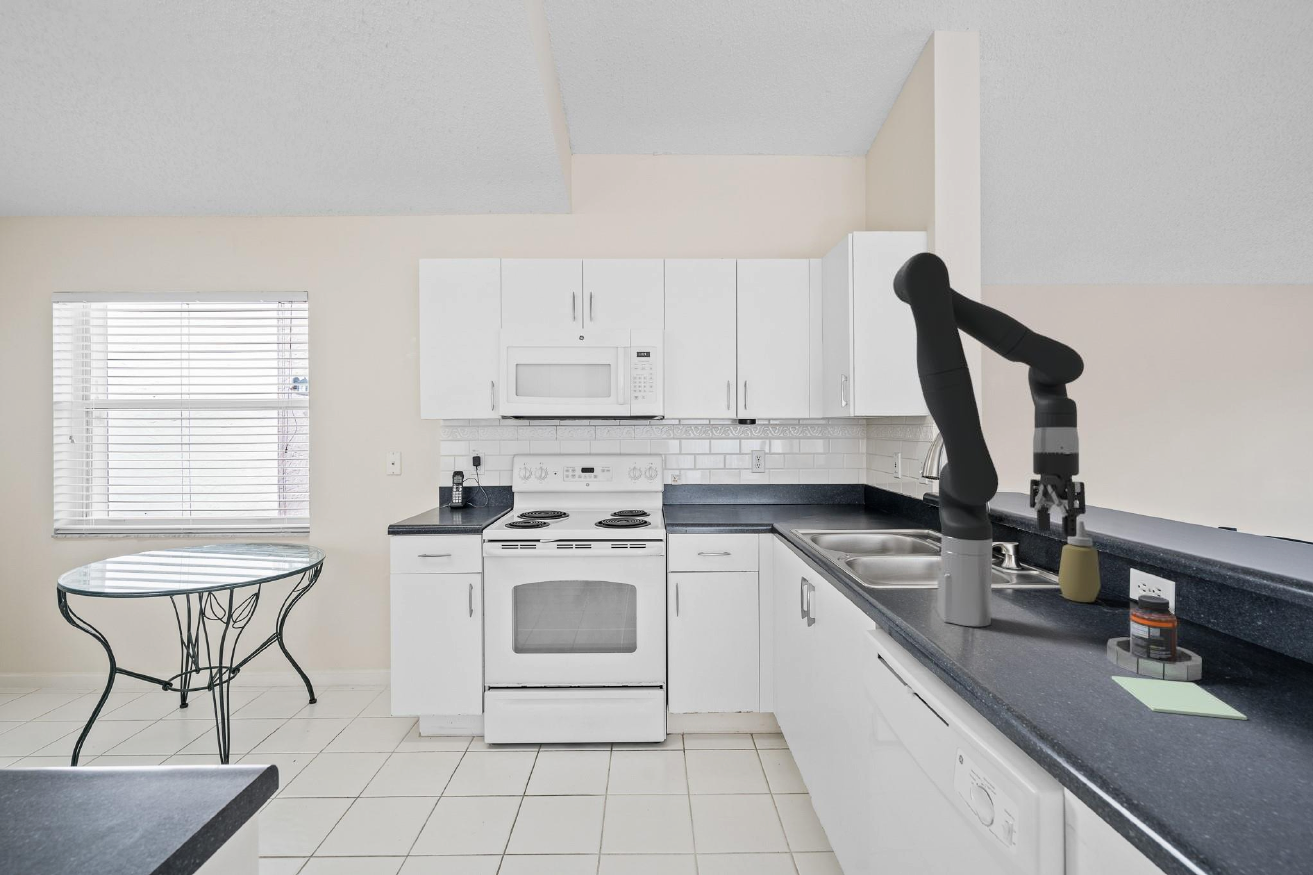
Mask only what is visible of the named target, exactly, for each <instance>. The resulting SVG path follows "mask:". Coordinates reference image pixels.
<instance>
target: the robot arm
mask: <svg viewBox="0 0 1313 875" xmlns="http://www.w3.org/2000/svg"><path fill="white" fill-rule="evenodd" d="M949 273H950V272H949V270H948V266H947V265H946V263H945V261H944V260H943V259H942V258H941V257H940V256H938V255H936V254H934V253H932V252H919V253H917V254H915V255H914V254H913V256H911V257H909V259H907V260H906V261H905V262H904V263H903V265H902V266H901V267H900V268H899V269H898V271H897V272H896V274H895V275H894V278H893V282H892V287H893V292H894V294H895V295H896V297H897V298H898V299H899V301H901V302H903V303H904V304H907V305H908V306H910V309H911V313H912V316H913V321H914V324H915V330H916V367H917V374H918V375H917V376H918V378H919V379H918V380H919V383H920V389H921V391H922V396H923V399H924V402H925V405H926V407H927V409H928V412H929V414H930V416H931V417H932V419H933V422H934V423H935V425H936V427H937V429H938V431H939V434H940V435H941V438H942V441H943V445H944V448H945V454H946V460H947V462H946V463H945V464H944V465H943V467H942V468H941V471H940V473H939V478H938V514H939V520H940V525H941V548H940V549H941V550H940V552H941V556H940V560H941V561H940V568H938V570H937V614H938V616H939V617H940V618H941V620H942V621H943V622H944V623H951V624H955V625H960V626H965V627H966V626H967V627H977V628H978V627H987V626H989V625H991V624H992V623H991V621H992V620H991V619H992V578H993V577H992V570H993V568H992V565H993V525H992V523H991V521H990V519H989V515H988V514H989V513H988V506H987V503H989V502H991V500H992V499H993V498H994V497H995V495H996V494H997V492H998V488H999V477H998V473H997V470H996V466H995V464H994V461H993V458H992V457H991V454H990V451H989V448H988V446H987V445H988V444H987V443H986V439H985V437H984V433H983V430H982V426H981V425H982V424H981V419H980V415H979V409H978V405H977V400H976V396H975V391H974V386H973V380H972V376H971V373H970V369H969V368H970V367H969V364H968V360H967V358H966V354H965V351H964V346H963V342H962V339H961V335H960V332H959V330H960V331H962V332H963V333H965V334H966V335H968V336H969V337H972V338H973V339H974V340H976V341H977V342H979V343H980V344H982V345H984V346H985V347H987V348H988V349H990V351H993V352H994V353H996V354H997V355H999V356H1001V357H1002V358H1004V359H1005V360H1007V361H1009V362H1012V363H1022V364H1025V366H1026V365H1027V366H1028V373H1027V376H1028V377H1027V379H1028V385H1029V390H1030V395H1031V399H1032V402H1033V406H1034V418H1033V419H1034V430H1033V431H1034V432H1033V438H1032V441H1033V442H1032V459H1033V460H1032V466H1033V467H1032V470H1033V471H1032V472H1033V474H1034V475H1037V476H1038V475H1040V476H1039V477H1040V478H1039V479H1035V478H1034V479H1030V480H1029V481H1030V484H1029V485H1030V486H1029V508H1031V509H1034V511H1035V513H1036V529H1037V531H1040V532H1050V531H1051V509H1052V507H1053V506H1054V505H1055V506H1056V507H1058V508H1059V510H1060V511H1061V512H1060V513H1061V514H1062V516H1061V534H1062V536H1063V537H1067V538H1068V537H1075V536H1076V535H1077V521H1078V520H1077V517H1079V516H1080V515H1085V513H1086V511H1087V510H1086V492H1085V491H1086V490H1085V487H1086V486H1085V483H1084V482H1083V481H1073V476H1078V475H1080V437H1079V432H1078V410H1077V409H1078V408H1077V403H1076V401H1075V400H1074V399H1072V398H1069V397H1068V392H1067V384H1070V383H1071V384H1072V383H1073V382H1074V381H1076V380H1078V379H1079V378H1080V377H1081V376H1082V374H1083V373H1084V369H1085V364H1084V363H1085V362H1084V360H1083V358H1082V357H1081V355H1080V354H1079V353H1078V352H1077V351H1076V350H1075V349H1074V348H1072V347H1070V346H1069V345H1067V344H1065V343H1062V342H1060V341H1058V340H1055V339H1053V338H1051V337H1049V336H1046V335H1043V334H1041V333H1037V332H1036V331H1033V330H1032V329H1031V328H1030V327H1028V326H1027V325H1024V324H1023V323H1021V322H1020V321H1019V320H1017V319H1015V318H1014V317H1012V316H1010V315H1008V314H1007V313H1005V312H1003V311H1001V310H998V309H996V308H994V307H991V306H989V305H986V304H983V303H981V302H978V301H975V300H974V299H971V298H969V297H966V296H965V295H963V294H961V293H960V292H958V291H956V290H955V289H953V287H951V282H950V274H949ZM1077 504H1078V507H1077Z"/></svg>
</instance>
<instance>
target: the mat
mask: <svg viewBox="0 0 1313 875" xmlns="http://www.w3.org/2000/svg"><path fill="white" fill-rule="evenodd" d="M1111 679H1112V680H1113V681H1114V682H1116V684H1118V685H1119V686H1121V687H1122V688H1123V689H1125V691H1127V692H1129V693H1130V694H1131V695H1132V696H1133V697H1135V698H1136V699H1137V700H1138V701H1140V702H1141V703H1142V704H1144V705H1145V706H1146V707H1148V708H1149V709H1150V710H1152V711H1153V712H1160V713H1167V714H1168V713H1169V714H1178V715H1179V714H1181V715H1188V716H1189V715H1190V716H1201V717H1212V718H1221V719H1231V720H1232V719H1233V720H1243V721H1247V720H1248V717H1247V716H1246V715H1245V714H1243V713H1241V712H1239V711H1238V710H1236V709H1235V708H1233V707H1232V706H1231V705H1229V704H1227V703H1225V702H1224V701H1222V700H1220V699H1219V698H1217V697H1216V696H1215V695H1213V694H1212V693H1209V692H1208V691H1206V690H1205V689H1204V688H1202V687H1200V686H1198V685H1197V684H1196V683H1195V682H1190V681H1177V680H1165V679H1154V678H1152V679H1151V678H1141V677H1140V678H1138V677H1129V676H1118V675H1112V676H1111Z"/></svg>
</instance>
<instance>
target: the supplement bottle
mask: <svg viewBox="0 0 1313 875" xmlns="http://www.w3.org/2000/svg"><path fill="white" fill-rule="evenodd" d="M1137 604H1138V605H1136V606H1135V607H1134V608H1132V609H1131V611H1130V638H1131V640H1130V653H1132V654H1135V655H1138V656H1141V657H1145V658H1150V659H1155V660H1160V661H1169V662H1176V656H1177V653H1176V652H1177V647H1178V646H1177V645H1178V644H1177V642H1178V641H1177V639H1178V634H1177V633H1178V620H1177V616H1176V615H1175V614H1174V613H1172V612H1171V611H1170V600H1169V599H1166V598H1165V597H1160V596H1156V595H1150V594H1147V595H1145V594H1143V595H1138V597H1137Z"/></svg>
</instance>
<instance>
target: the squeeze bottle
mask: <svg viewBox="0 0 1313 875" xmlns="http://www.w3.org/2000/svg"><path fill="white" fill-rule="evenodd" d="M1060 556H1061V558H1060V562H1059V570H1058V578H1057V579H1058V580H1057V582H1058V584H1059V587H1060V590H1061V593H1062V596H1063V598H1064V599H1067V600H1070V601H1074V602H1079V603H1093V602H1095V600H1096V598H1097V596H1098V594H1099V592H1100V589H1101V576H1100V567H1099V566H1100V565H1099V556H1098V549H1097V548H1095V547H1093V538H1092V537H1090V536H1088V535H1087V531H1086V528H1085V522H1084V521H1082V520H1081V521H1080V520H1077V535H1076V536H1075V537H1067V544H1065V545H1063V546H1062V550H1061V555H1060Z"/></svg>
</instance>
